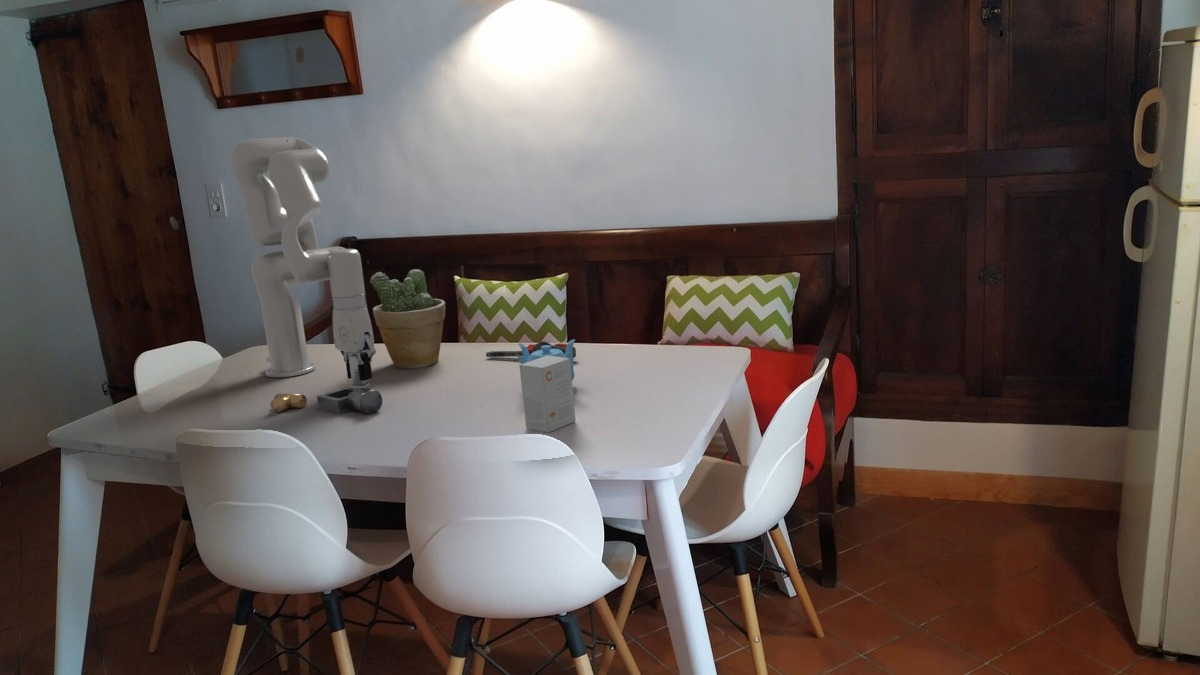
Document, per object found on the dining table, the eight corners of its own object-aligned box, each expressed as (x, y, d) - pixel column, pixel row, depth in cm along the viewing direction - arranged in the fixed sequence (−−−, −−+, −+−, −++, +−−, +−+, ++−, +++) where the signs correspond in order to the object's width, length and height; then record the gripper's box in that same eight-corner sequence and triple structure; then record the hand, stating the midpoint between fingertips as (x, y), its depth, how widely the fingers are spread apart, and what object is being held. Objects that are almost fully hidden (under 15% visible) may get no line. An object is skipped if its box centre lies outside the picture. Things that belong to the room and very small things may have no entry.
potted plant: (418, 352, 257) (407, 262, 251) (467, 357, 246) (456, 263, 240) (365, 368, 242) (353, 273, 237) (415, 375, 231) (403, 275, 226)
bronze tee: (307, 405, 211) (305, 393, 211) (288, 413, 206) (286, 400, 205) (284, 404, 214) (282, 391, 214) (265, 411, 209) (262, 399, 208)
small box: (553, 417, 188) (547, 354, 185) (576, 421, 184) (571, 357, 181) (524, 428, 182) (518, 364, 180) (548, 433, 178) (542, 367, 175)
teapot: (519, 400, 203) (514, 355, 200) (522, 384, 215) (518, 341, 213) (578, 395, 203) (574, 350, 200) (578, 379, 215) (574, 336, 213)
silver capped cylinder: (349, 390, 222) (343, 349, 220) (363, 385, 225) (358, 345, 223) (359, 392, 219) (353, 351, 217) (374, 388, 222) (368, 347, 220)
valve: (594, 361, 240) (566, 367, 227) (509, 361, 252) (477, 367, 239) (593, 336, 240) (564, 341, 227) (508, 338, 252) (476, 342, 239)
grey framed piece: (318, 409, 208) (315, 387, 207) (349, 399, 214) (346, 378, 212) (358, 418, 198) (355, 395, 197) (389, 408, 204) (386, 386, 203)
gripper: (315, 303, 220) (326, 378, 224) (357, 308, 209) (368, 386, 213) (342, 297, 226) (352, 370, 229) (384, 301, 215) (394, 378, 219)
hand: (360, 377), depth 221 cm, fingers closed on silver capped cylinder, 4 cm apart
